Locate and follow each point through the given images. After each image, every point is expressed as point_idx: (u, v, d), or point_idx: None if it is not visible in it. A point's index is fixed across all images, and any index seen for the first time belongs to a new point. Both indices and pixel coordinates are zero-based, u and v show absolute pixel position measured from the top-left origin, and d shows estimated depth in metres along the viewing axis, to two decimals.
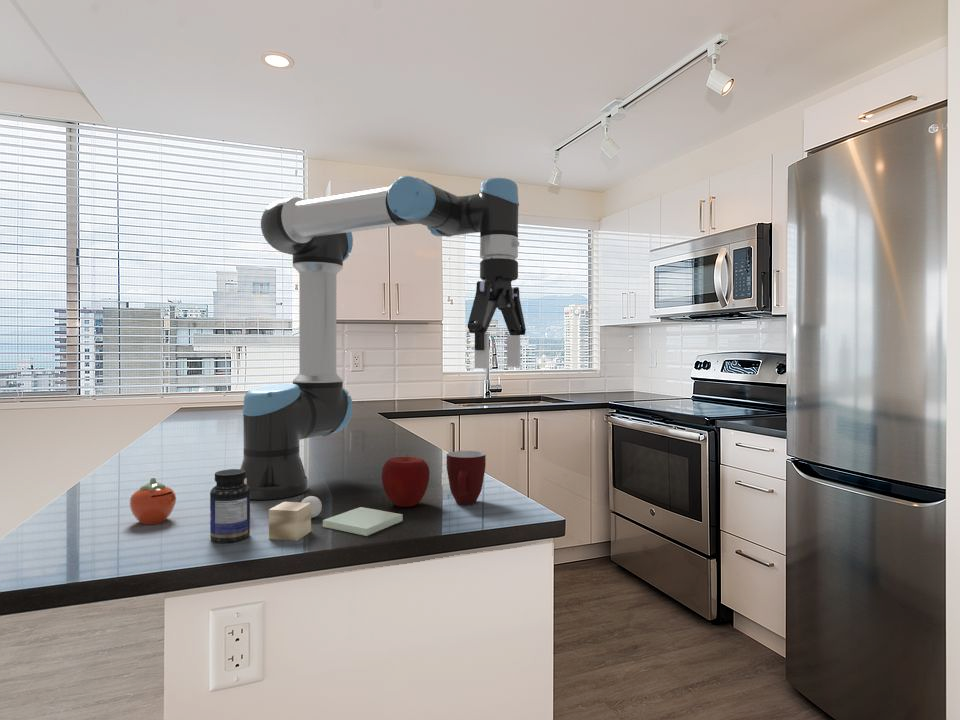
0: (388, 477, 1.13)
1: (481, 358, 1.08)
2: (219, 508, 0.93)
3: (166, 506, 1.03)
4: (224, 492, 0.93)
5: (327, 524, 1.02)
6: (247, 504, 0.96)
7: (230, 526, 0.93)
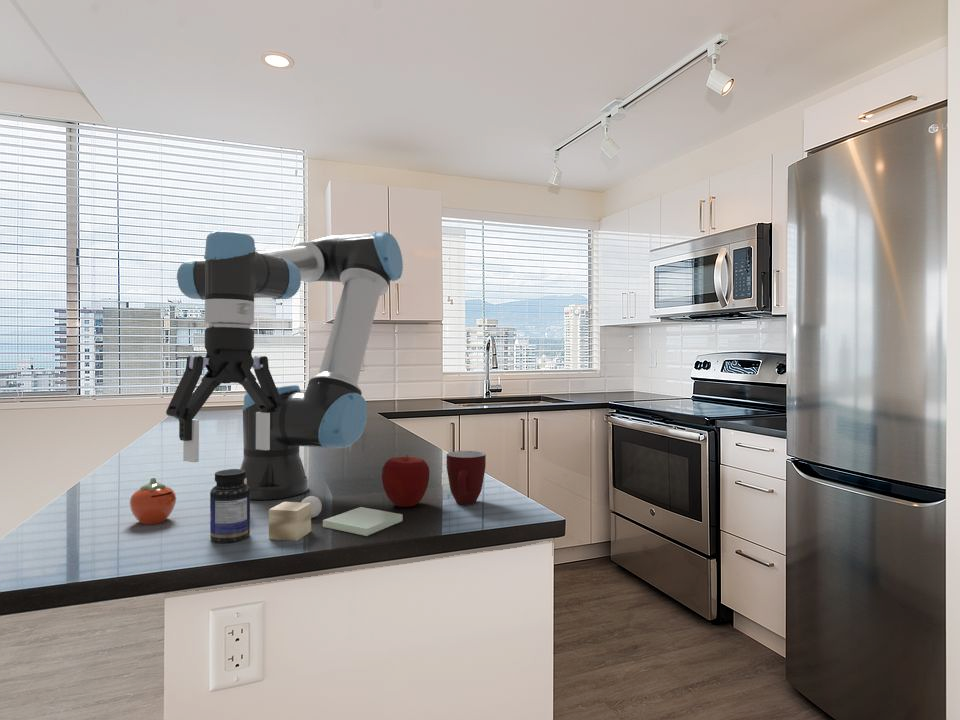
0: (388, 477, 1.13)
1: (189, 449, 0.89)
2: (219, 508, 0.93)
3: (166, 506, 1.03)
4: (224, 492, 0.93)
5: (327, 524, 1.02)
6: (247, 504, 0.96)
7: (230, 526, 0.93)
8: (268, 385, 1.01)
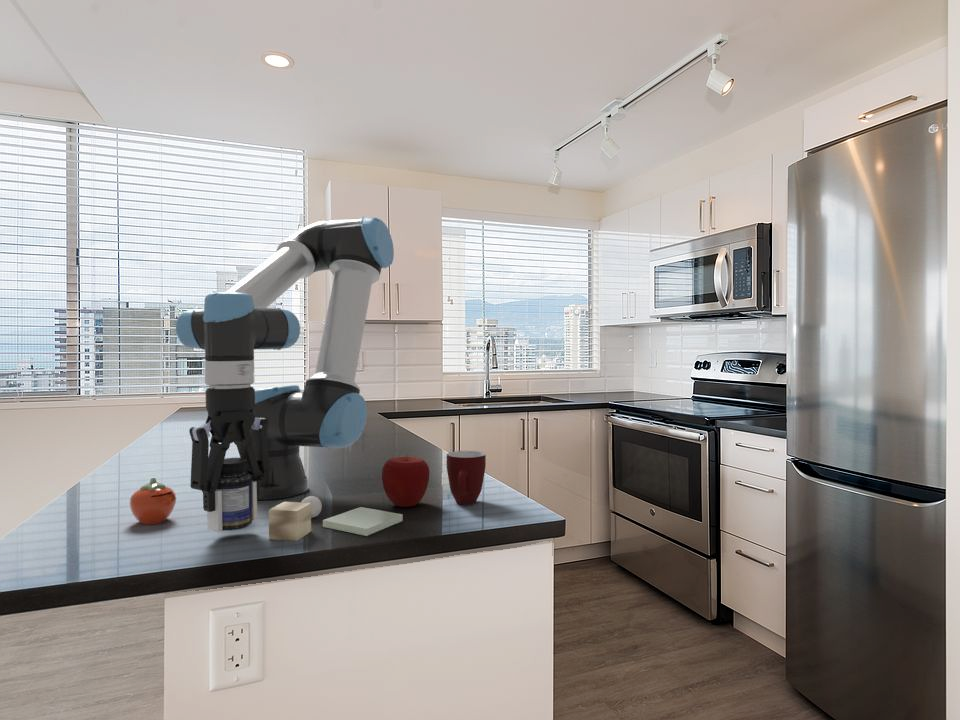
0: (388, 477, 1.13)
1: (213, 519, 0.93)
2: None
3: (166, 506, 1.03)
4: (226, 480, 0.94)
5: (327, 524, 1.02)
6: (249, 492, 0.96)
7: (233, 514, 0.94)
8: (261, 448, 1.00)
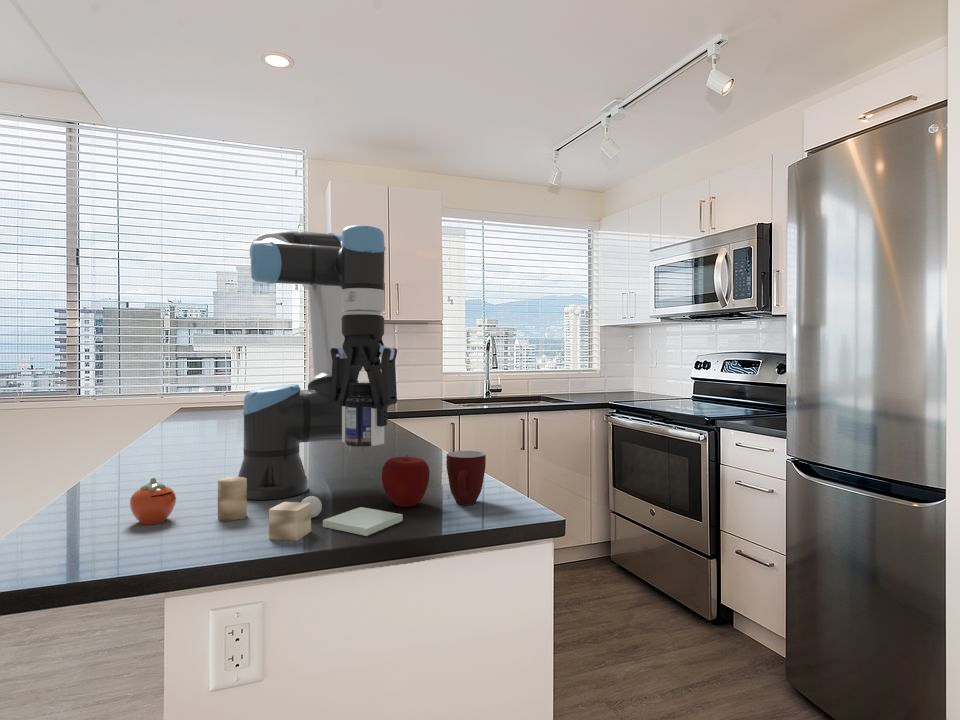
0: (388, 477, 1.13)
1: None
2: None
3: (166, 506, 1.03)
4: None
5: (327, 524, 1.02)
6: (357, 414, 1.01)
7: None
8: None
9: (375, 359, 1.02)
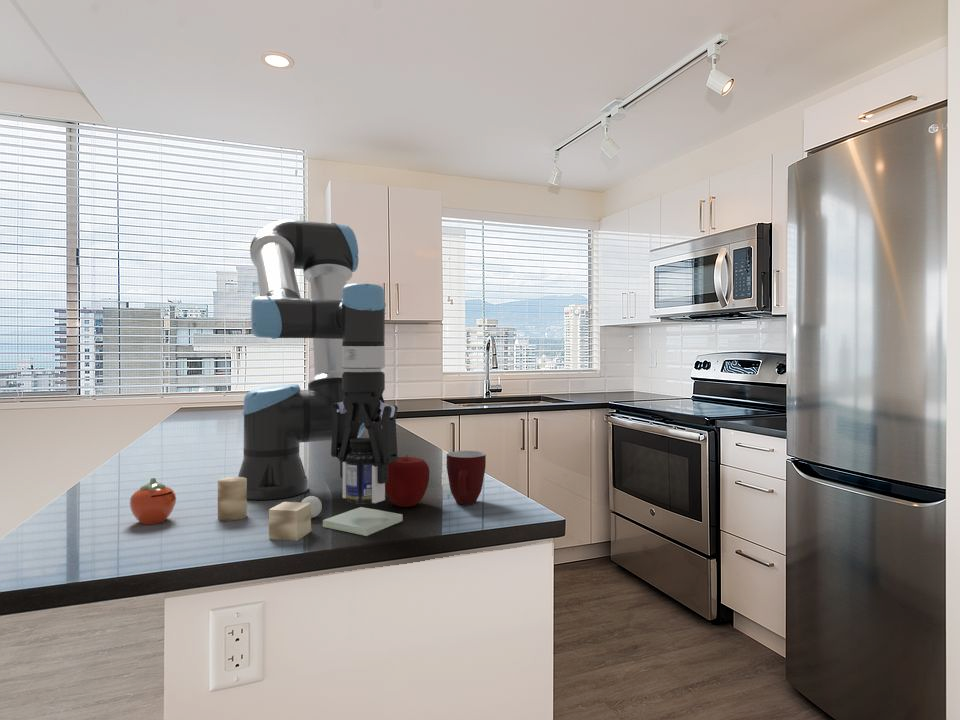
0: (388, 477, 1.13)
1: None
2: None
3: (166, 506, 1.03)
4: None
5: (327, 524, 1.02)
6: (357, 472, 1.01)
7: (346, 487, 1.02)
8: None
9: (376, 416, 1.02)
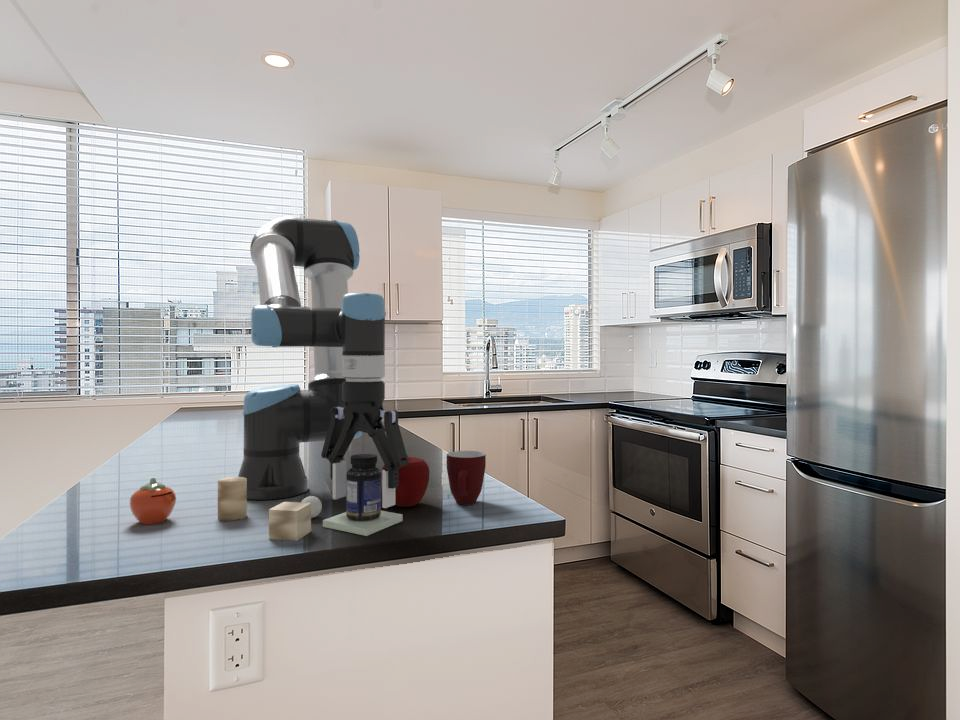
0: None
1: None
2: None
3: (166, 506, 1.03)
4: (348, 470, 1.04)
5: (327, 524, 1.02)
6: (358, 489, 1.01)
7: (346, 503, 1.03)
8: None
9: (375, 425, 1.02)
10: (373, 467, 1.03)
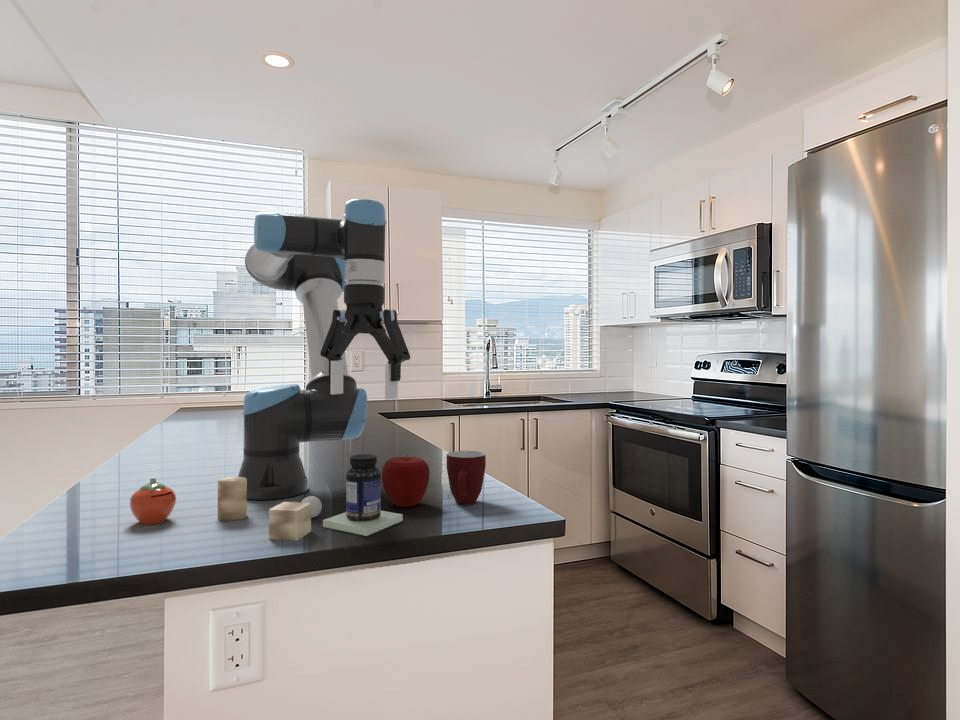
0: (388, 477, 1.13)
1: None
2: None
3: (166, 506, 1.03)
4: None
5: (327, 524, 1.02)
6: (358, 489, 1.01)
7: (346, 504, 1.03)
8: (390, 337, 1.05)
9: (375, 327, 1.08)
10: (373, 467, 1.03)
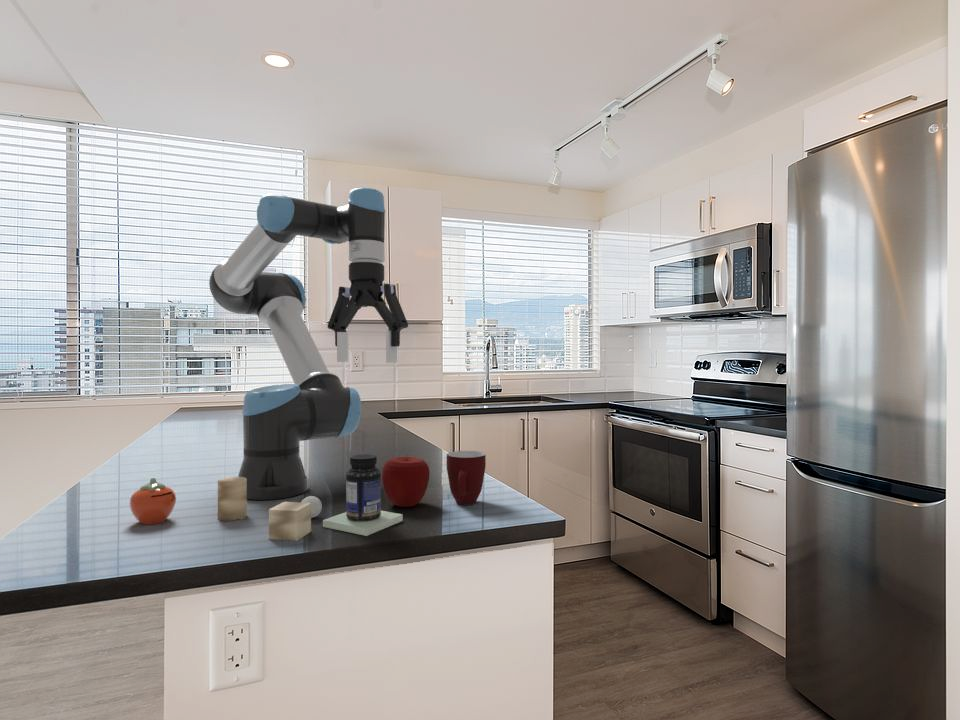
0: (388, 477, 1.13)
1: None
2: None
3: (166, 506, 1.03)
4: None
5: (327, 524, 1.02)
6: (357, 489, 1.01)
7: (346, 504, 1.03)
8: (390, 308, 1.19)
9: (377, 300, 1.22)
10: (373, 467, 1.03)
